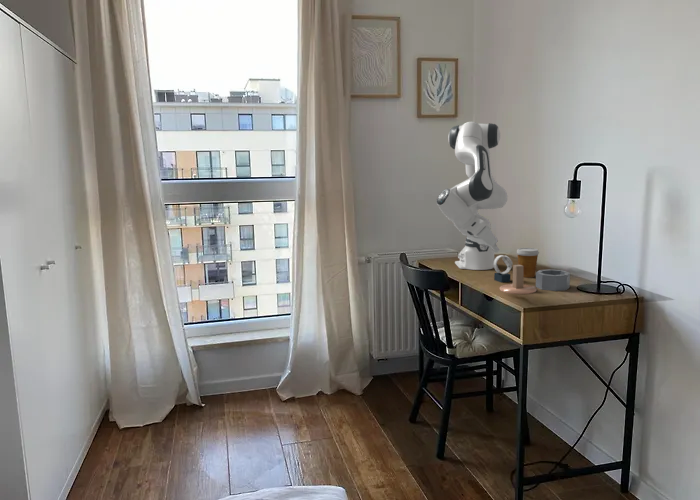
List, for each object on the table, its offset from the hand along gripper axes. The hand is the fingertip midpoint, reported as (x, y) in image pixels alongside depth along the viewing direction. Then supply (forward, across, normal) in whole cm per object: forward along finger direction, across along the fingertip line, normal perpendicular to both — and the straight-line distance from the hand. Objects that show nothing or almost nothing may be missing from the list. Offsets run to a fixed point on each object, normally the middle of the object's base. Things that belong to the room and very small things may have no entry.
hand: (491, 249), depth 220 cm
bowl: (+31, 0, +8) cm, 32 cm away
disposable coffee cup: (+32, -22, +8) cm, 39 cm away
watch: (+22, -17, -2) cm, 28 cm away
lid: (+20, 0, -3) cm, 21 cm away
